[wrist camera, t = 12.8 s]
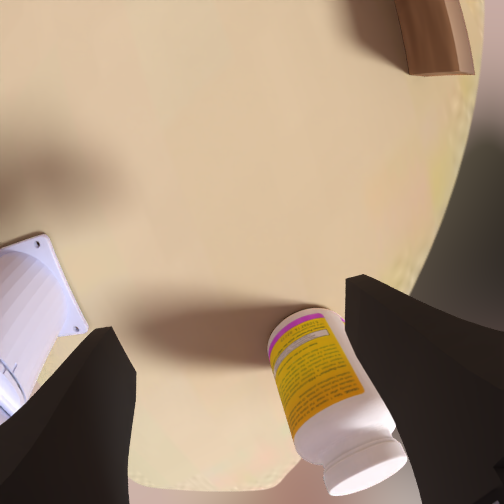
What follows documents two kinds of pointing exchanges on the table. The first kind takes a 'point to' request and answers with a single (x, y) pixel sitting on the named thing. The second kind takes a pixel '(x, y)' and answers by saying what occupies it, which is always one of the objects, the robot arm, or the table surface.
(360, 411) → the supplement bottle
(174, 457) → the table surface
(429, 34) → the l-shaped bracket
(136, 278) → the table surface
